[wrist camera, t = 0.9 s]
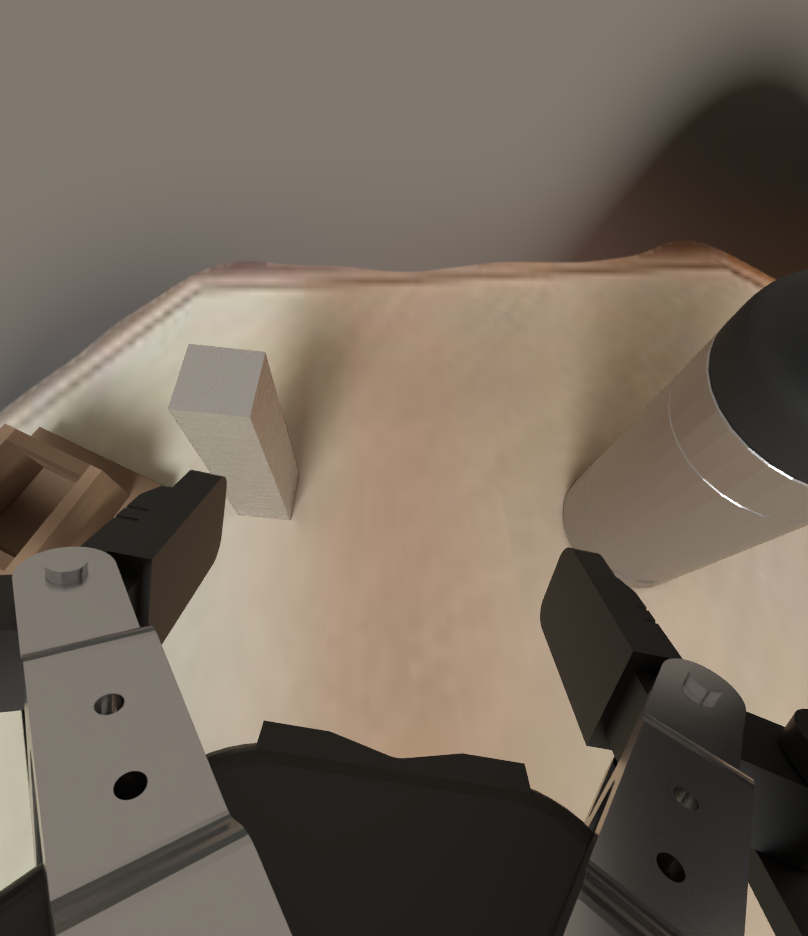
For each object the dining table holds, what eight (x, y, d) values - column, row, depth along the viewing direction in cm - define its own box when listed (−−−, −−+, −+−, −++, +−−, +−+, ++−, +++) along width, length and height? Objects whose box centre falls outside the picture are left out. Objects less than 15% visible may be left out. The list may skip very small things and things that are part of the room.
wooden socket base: (51, 437, 37) (2, 395, 32) (170, 494, 36) (139, 459, 31) (-58, 561, 33) (-133, 535, 28) (73, 629, 31) (19, 616, 26)
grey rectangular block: (248, 468, 37) (188, 343, 24) (298, 472, 37) (265, 352, 24) (238, 515, 35) (168, 409, 23) (290, 520, 35) (249, 417, 23)
